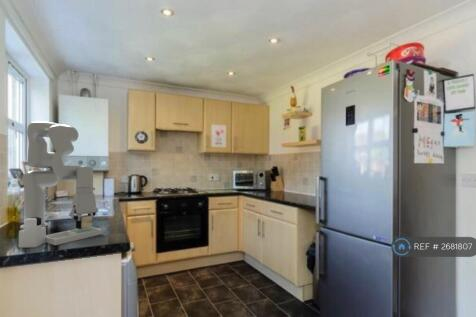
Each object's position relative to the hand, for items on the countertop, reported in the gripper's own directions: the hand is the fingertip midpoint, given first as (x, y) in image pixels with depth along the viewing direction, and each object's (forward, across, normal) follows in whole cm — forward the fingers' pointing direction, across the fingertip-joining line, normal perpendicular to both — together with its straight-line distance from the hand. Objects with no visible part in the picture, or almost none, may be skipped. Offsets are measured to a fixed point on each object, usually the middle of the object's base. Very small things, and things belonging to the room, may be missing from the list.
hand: (84, 226), depth 139 cm
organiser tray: (+4, +5, 0) cm, 7 cm away
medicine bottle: (+4, +21, -3) cm, 22 cm away
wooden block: (+1, 0, 0) cm, 1 cm away
